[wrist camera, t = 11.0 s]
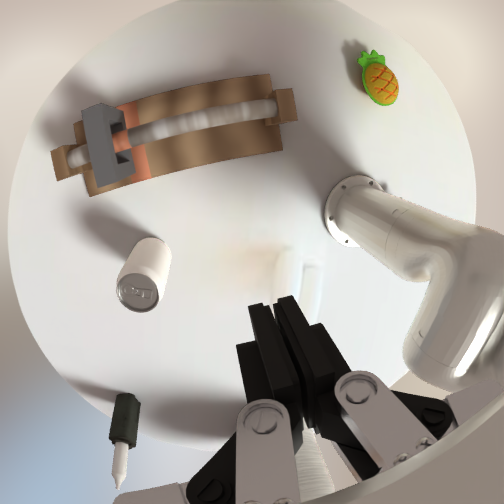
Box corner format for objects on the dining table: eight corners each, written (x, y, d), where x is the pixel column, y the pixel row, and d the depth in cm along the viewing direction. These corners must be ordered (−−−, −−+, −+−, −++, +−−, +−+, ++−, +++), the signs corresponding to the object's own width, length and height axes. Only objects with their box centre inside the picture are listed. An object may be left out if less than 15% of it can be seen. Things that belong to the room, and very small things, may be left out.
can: (136, 232, 41) (114, 264, 30) (175, 241, 42) (166, 276, 31) (131, 269, 43) (112, 309, 32) (168, 277, 44) (159, 319, 33)
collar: (123, 111, 30) (100, 103, 22) (136, 172, 34) (116, 182, 26) (107, 116, 30) (81, 110, 22) (120, 177, 34) (97, 188, 26)
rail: (267, 75, 35) (286, 58, 26) (281, 150, 40) (302, 152, 31) (75, 124, 32) (45, 122, 23) (91, 196, 37) (65, 211, 28)
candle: (142, 405, 56) (135, 494, 33) (125, 406, 55) (114, 492, 33) (132, 392, 54) (121, 486, 31) (114, 394, 53) (99, 484, 30)
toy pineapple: (364, 110, 39) (382, 108, 34) (343, 56, 35) (360, 48, 30) (392, 103, 39) (411, 101, 34) (374, 52, 35) (391, 45, 30)
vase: (259, 444, 70) (283, 535, 40) (217, 423, 62) (235, 536, 32) (316, 416, 68) (355, 510, 38) (282, 390, 60) (325, 513, 30)
